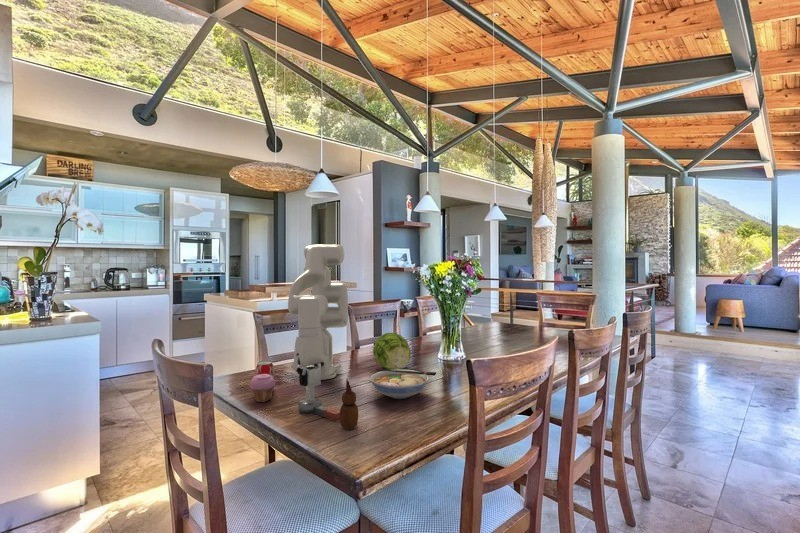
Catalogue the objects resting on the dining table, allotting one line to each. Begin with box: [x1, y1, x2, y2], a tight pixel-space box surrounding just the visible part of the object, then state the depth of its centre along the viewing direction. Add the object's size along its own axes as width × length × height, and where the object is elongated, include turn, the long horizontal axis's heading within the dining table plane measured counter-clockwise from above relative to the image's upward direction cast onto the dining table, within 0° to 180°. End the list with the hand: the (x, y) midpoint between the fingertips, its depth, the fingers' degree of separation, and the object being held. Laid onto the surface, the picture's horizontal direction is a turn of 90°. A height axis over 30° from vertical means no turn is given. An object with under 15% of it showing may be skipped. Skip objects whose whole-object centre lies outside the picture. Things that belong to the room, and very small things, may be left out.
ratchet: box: [298, 386, 340, 422], centre depth 141 cm, size 8×19×8 cm, turn 50°
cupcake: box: [249, 374, 276, 403], centre depth 155 cm, size 9×9×10 cm
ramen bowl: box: [369, 368, 437, 400], centre depth 158 cm, size 25×23×8 cm
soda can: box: [255, 360, 275, 392], centre depth 164 cm, size 7×7×12 cm
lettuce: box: [373, 332, 412, 370], centre depth 197 cm, size 17×23×17 cm
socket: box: [298, 365, 322, 388], centre depth 144 cm, size 5×5×6 cm
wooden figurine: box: [339, 378, 359, 431], centre depth 129 cm, size 7×6×15 cm
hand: (310, 383), depth 144 cm, fingers closed on socket, 5 cm apart
